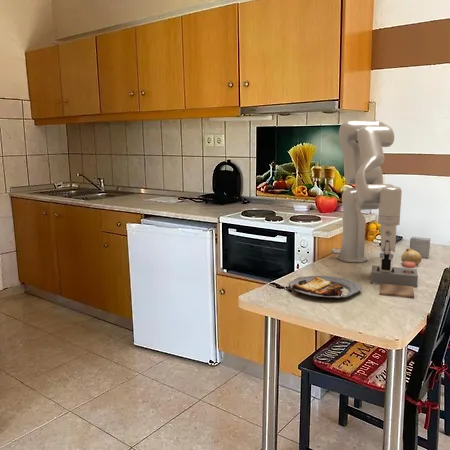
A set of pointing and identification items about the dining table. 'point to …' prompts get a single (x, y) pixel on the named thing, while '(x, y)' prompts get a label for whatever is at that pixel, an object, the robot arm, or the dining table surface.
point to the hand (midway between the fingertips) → (385, 267)
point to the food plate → (324, 286)
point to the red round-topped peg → (408, 265)
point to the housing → (394, 276)
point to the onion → (411, 256)
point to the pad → (396, 290)
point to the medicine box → (420, 245)
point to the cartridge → (381, 263)
